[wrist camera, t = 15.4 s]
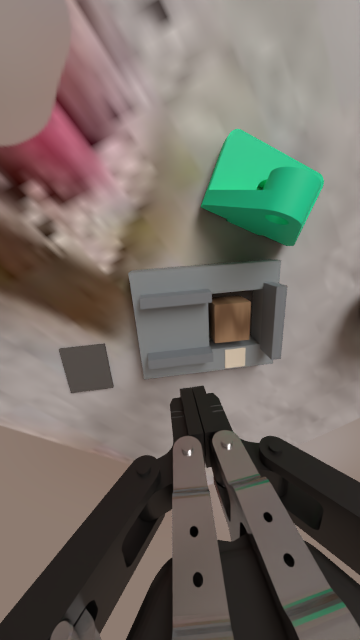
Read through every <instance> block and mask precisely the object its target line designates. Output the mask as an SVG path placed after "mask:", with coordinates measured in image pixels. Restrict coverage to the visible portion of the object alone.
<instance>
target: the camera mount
mask: <svg viewBox="0 0 360 640" xmlns="http://www.w3.org/2000/svg"><path fill="white" fill-rule="evenodd" d="M323 184H324V180H323V177H322V175H321V174H320V173H318V172H316V171H314V170H313V169H311V168H309V167H307V166H305V165H304V164H302V163H300V162H298V161H296V160H295V159H293V158H291V157H289V156H287V155H286V154H284V153H282V152H280V151H279V150H277V149H275V148H273V147H271V146H270V145H268V144H266V143H264V142H262V141H261V140H259V139H257V138H255V137H253V136H252V135H250V134H248V133H246V132H244V131H243V130H241V129H235V130H233V131H231V132H230V134H229V135H228V137H227V138H226V140H225V142H224V143H223V146H222V149H221V152H220V154H219V157H218V160H217V163H216V166H215V168H214V171H213V174H212V177H211V179H210V182H209V185H208V188H207V191H206V193H205V196H204V199H203V202H202V204H201V208H204V209H206V210H208V211H210V212H212V213H215V214H217V215H219V216H221V217H223V218H226V219H227V220H226V221H228V222H230V223H232V224H235V225H237V226H239V227H241V228H243V229H246V230H248V231H250V232H252V233H255V234H257V235H263V236H266V237H268V238H270V239H272V240H275V241H277V242H279V243H281V244H283V245H286V246H294V244H295V242H296V240H297V238H298V236H299V234H300V232H301V230H302V228H303V226H304V224H305V222H306V220H307V218H308V216H309V214H310V212H311V210H312V208H313V206H314V204H315V202H316V200H317V198H318V196H319V193H320V191H321V189H322V187H323ZM258 186H260V187H262V188H263V190H257V187H258Z"/></svg>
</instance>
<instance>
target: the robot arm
mask: <svg viewBox="0 0 360 640" xmlns="http://www.w3.org/2000/svg"><path fill="white" fill-rule="evenodd" d="M170 411H171V420H172V430H173V446H172V448H171V449H170V451H169V452H168V453H167V454H165V455H164V456H162V457H160V458H158V459H156V458H154V457H153V456H149V455H145V456H141V457H139V458H137V459H136V460H135V461H134V462H133V463H132V464H131V465H130V466H129V468H128V469H127V470H126V471H125V473H124V474H123V475H122V476H121V477H120V478H119V480H118V481H117V482H116V483H115V485H114V486H113V487H112V488H111V489H110V491H109V492H108V493H107V494H106V495H105V497H104V498H103V499H102V500H101V502H100V503H99V504H98V505H97V507H96V508H95V509H94V510H93V511H92V513H91V514H90V515H89V516H88V517H87V519H86V520H85V521H84V522H83V523H82V525H81V526H80V527H79V528H78V530H77V531H76V532H75V533H74V534H73V536H72V537H71V538H70V539H69V541H68V542H67V543H66V544H65V545H64V547H63V548H62V549H61V550H60V551H59V553H58V554H57V555H56V556H55V558H54V559H53V560H52V561H51V563H50V564H49V565H48V566H47V567H46V569H45V570H44V571H43V572H42V574H41V575H40V576H39V577H38V578H37V579H36V581H35V582H34V583H33V584H32V586H31V587H30V588H29V589H28V590H27V592H26V593H25V594H24V595H23V597H22V598H21V599H20V600H19V601H18V603H17V604H16V605H15V606H14V608H13V609H12V610H11V611H10V612H9V614H8V615H7V616H6V617H5V618H4V620H3V621H2V622H1V623H0V640H101V637H100V633H101V631H102V629H103V627H104V625H105V624H106V622H107V620H108V618H109V616H110V615H111V613H112V611H113V609H114V607H115V605H116V603H117V602H118V600H119V598H120V596H121V595H122V593H123V591H124V589H125V587H126V585H127V584H128V582H129V580H130V578H131V576H132V575H133V573H134V571H135V569H136V567H137V566H138V564H139V562H140V560H141V558H142V556H143V555H144V553H145V551H146V549H147V547H148V546H149V544H150V542H151V540H152V538H153V537H154V535H155V533H156V531H157V529H158V527H159V526H160V524H161V522H162V520H163V518H164V516H165V513H166V512H168V511H170V510H171V509H172V547H173V548H172V551H173V552H172V553H173V554H172V558H171V559H170V560H168V561H167V562H166V563H165V564H164V566H163V567H162V568H161V569H160V571H159V572H158V574H157V575H156V577H155V578H154V580H153V582H152V583H151V586H150V588H149V590H148V592H147V594H146V596H145V599H144V601H143V603H142V605H141V607H140V610H139V612H138V614H137V617H136V618H135V621H134V623H133V625H132V628H131V630H130V632H129V634H128V636H127V638H126V640H360V585H359V584H358V583H357V582H356V581H355V580H353V579H352V578H351V577H350V576H349V575H347V574H346V573H345V572H344V571H343V570H341V569H340V568H339V567H338V566H337V565H336V564H334V563H333V562H332V561H330V559H328V558H327V557H326V556H325V555H324V554H322V553H321V552H320V551H319V550H318V549H316V548H315V547H314V546H312V545H311V544H309V543H308V542H306V541H304V540H303V539H302V537H301V535H300V534H299V532H298V530H297V528H296V526H295V525H297V526H298V527H299V528H300V529H302V530H303V531H304V532H306V533H307V534H308V535H309V536H311V537H312V538H313V539H314V540H316V541H317V542H318V543H320V544H321V545H322V546H323V547H325V548H326V549H327V550H329V551H330V552H331V553H332V554H334V555H335V556H336V557H337V558H339V559H340V560H341V561H343V562H344V563H345V564H346V565H348V566H349V567H350V568H351V569H353V570H354V571H355V572H356V573H358V574H359V575H360V482H358V481H356V480H354V479H353V478H351V477H349V476H347V475H345V474H344V473H342V472H340V471H338V470H336V469H335V468H333V467H331V466H329V465H327V464H325V463H324V462H322V461H320V460H318V459H316V458H315V457H313V456H311V455H309V454H307V453H306V452H303V451H302V450H300V449H298V448H297V447H295V446H293V445H291V444H289V443H288V442H286V441H284V440H282V439H280V438H278V437H274V436H266V437H264V438H262V439H261V441H260V443H254V442H248V441H244V440H242V439H240V438H239V437H238V435H236V434H235V433H234V432H233V430H232V428H231V426H230V424H229V421H228V419H227V417H226V414H225V412H224V410H223V407H222V406H221V403H220V400H219V398H218V397H217V396H216V395H215V394H214V393H208V394H206V391H205V389H204V386H197V387H192V388H191V387H190V388H183V389H180V398H173V399H172V401H171V404H170ZM205 463H206V467H207V468H208V467H212V471H213V476H214V485H215V488H216V491H217V494H218V497H219V500H220V503H221V506H222V509H223V512H224V515H225V518H226V521H227V524H228V527H229V532H230V537H231V542H228V541H222V540H217V535H216V528H215V523H214V516H213V510H212V504H211V497H210V491H209V489H208V485H207V478H206V472H205ZM294 524H295V525H294Z"/></svg>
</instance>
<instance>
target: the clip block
mask: <svg viewBox="0 0 360 640" xmlns="http://www.w3.org/2000/svg"><path fill="white" fill-rule="evenodd" d="M250 312H251V302H250V301H249V300H247V299H245V298H243V297H241V296H239V295H236V296H225V297H214V298H212V302H211V303H208V318H209V335H210V336H211V338H212V339H213V341H214V342H215V343H223V342H232V341H241V340H249V335H250Z"/></svg>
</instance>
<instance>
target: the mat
mask: <svg viewBox="0 0 360 640" xmlns="http://www.w3.org/2000/svg"><path fill="white" fill-rule="evenodd" d="M59 352H60V355H61V359H62V363H63V366H64V370H65V373H66V377H67V380H68V384H69V387H70V391H71V393H74V392H82V391H90V390H98V389H106V388H113V382H112V377H111V372H110V367H109V362H108V357H107V352H106V347H105V344H97V345H88V346H79V347H70V348H60V349H59Z"/></svg>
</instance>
